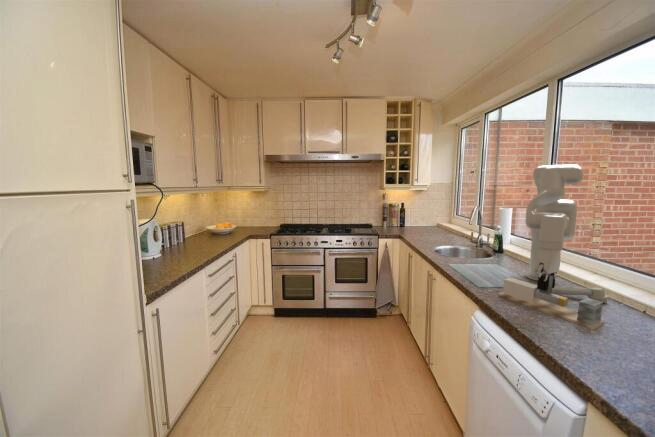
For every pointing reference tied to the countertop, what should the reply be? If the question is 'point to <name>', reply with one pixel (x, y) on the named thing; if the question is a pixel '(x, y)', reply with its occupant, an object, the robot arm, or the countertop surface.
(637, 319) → the countertop surface
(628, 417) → the countertop surface
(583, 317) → the stand
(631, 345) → the countertop surface
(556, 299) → the grey l-shaped piece
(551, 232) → the robot arm
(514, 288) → the sleeve
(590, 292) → the electric toothbrush handle
